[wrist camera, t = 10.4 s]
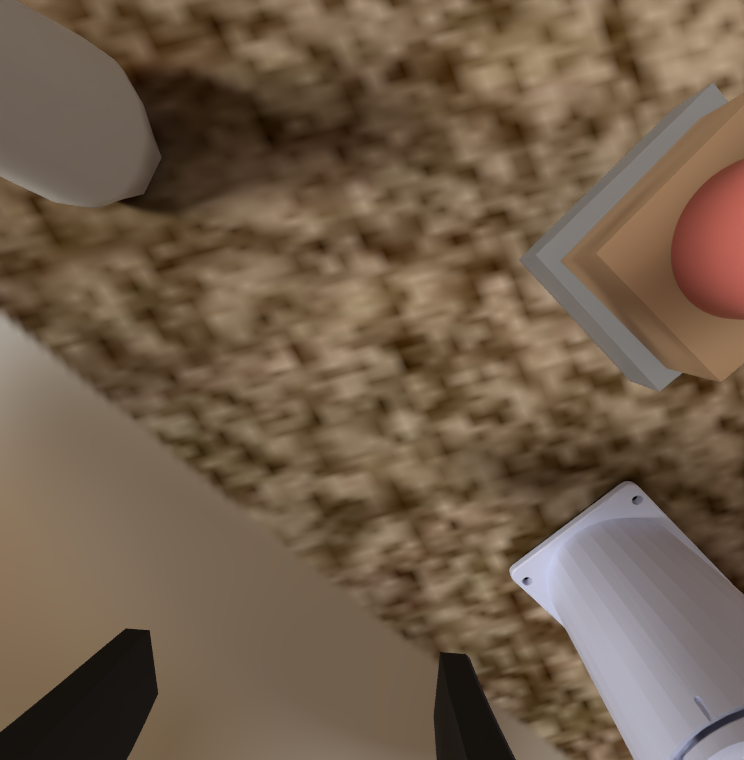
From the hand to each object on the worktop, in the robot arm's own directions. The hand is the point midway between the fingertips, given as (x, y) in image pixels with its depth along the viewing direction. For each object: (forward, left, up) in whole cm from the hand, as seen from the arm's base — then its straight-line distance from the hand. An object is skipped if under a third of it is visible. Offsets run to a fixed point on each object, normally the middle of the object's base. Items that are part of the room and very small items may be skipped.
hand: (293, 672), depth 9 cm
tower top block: (-2, -17, -9) cm, 19 cm away
